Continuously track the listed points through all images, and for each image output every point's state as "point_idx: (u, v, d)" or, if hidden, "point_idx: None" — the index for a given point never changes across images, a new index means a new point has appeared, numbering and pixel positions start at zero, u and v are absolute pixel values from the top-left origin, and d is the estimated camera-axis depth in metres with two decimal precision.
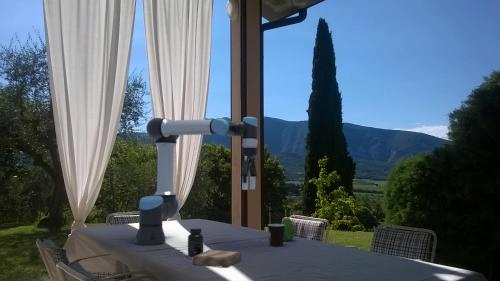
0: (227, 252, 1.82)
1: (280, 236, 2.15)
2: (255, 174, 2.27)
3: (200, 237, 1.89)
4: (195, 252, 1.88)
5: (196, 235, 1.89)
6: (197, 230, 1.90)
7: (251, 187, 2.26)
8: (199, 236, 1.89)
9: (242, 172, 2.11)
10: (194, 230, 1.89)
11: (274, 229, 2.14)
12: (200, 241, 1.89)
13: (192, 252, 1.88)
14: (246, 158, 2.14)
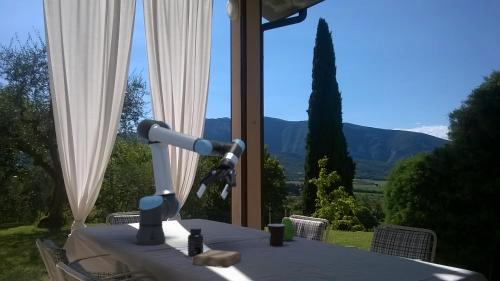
0: (227, 252, 1.82)
1: (280, 236, 2.15)
2: None
3: (200, 237, 1.89)
4: (195, 252, 1.88)
5: (196, 235, 1.89)
6: (197, 230, 1.90)
7: (199, 193, 2.05)
8: (199, 236, 1.89)
9: (234, 182, 2.02)
10: (194, 230, 1.89)
11: (274, 229, 2.14)
12: (200, 241, 1.89)
13: (192, 252, 1.88)
14: (235, 173, 2.09)
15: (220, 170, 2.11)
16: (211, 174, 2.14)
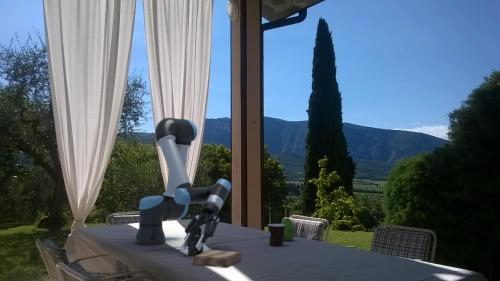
0: (227, 252, 1.82)
1: (280, 236, 2.15)
2: None
3: (200, 237, 1.89)
4: (195, 252, 1.88)
5: (196, 235, 1.89)
6: (197, 230, 1.90)
7: (185, 244, 1.90)
8: (199, 236, 1.89)
9: (211, 232, 1.90)
10: (194, 230, 1.89)
11: (274, 229, 2.14)
12: None
13: (192, 252, 1.88)
14: (218, 220, 1.96)
15: (204, 214, 1.99)
16: (195, 220, 2.00)
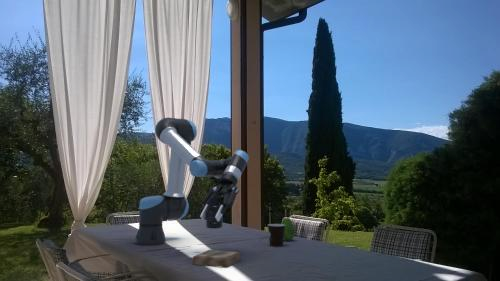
0: (227, 252, 1.82)
1: (280, 236, 2.15)
2: None
3: (219, 207, 1.80)
4: (214, 223, 1.79)
5: (215, 205, 1.80)
6: (216, 200, 1.81)
7: (203, 216, 1.81)
8: (218, 206, 1.80)
9: (230, 203, 1.81)
10: (213, 200, 1.80)
11: (274, 229, 2.14)
12: None
13: (211, 224, 1.79)
14: (237, 191, 1.87)
15: (221, 185, 1.90)
16: (212, 191, 1.91)
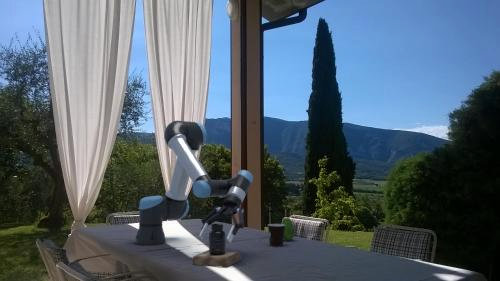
0: (227, 252, 1.82)
1: (280, 236, 2.15)
2: None
3: (222, 234, 1.77)
4: (217, 249, 1.76)
5: (218, 232, 1.77)
6: (219, 226, 1.78)
7: (202, 235, 1.81)
8: (221, 233, 1.77)
9: (242, 223, 1.78)
10: (216, 226, 1.78)
11: (274, 229, 2.14)
12: (223, 238, 1.77)
13: (214, 250, 1.76)
14: (243, 211, 1.84)
15: (225, 207, 1.87)
16: (215, 211, 1.89)
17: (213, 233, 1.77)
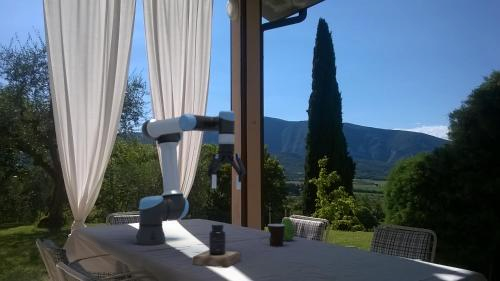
0: (227, 252, 1.82)
1: (280, 236, 2.15)
2: None
3: (223, 234, 1.78)
4: (217, 249, 1.76)
5: (218, 232, 1.77)
6: (219, 226, 1.78)
7: (214, 186, 2.07)
8: (221, 233, 1.78)
9: (243, 171, 1.99)
10: (216, 226, 1.78)
11: (274, 229, 2.14)
12: (223, 238, 1.78)
13: (214, 250, 1.76)
14: (239, 156, 2.02)
15: (223, 156, 2.04)
16: (215, 159, 2.08)
17: (213, 233, 1.77)
